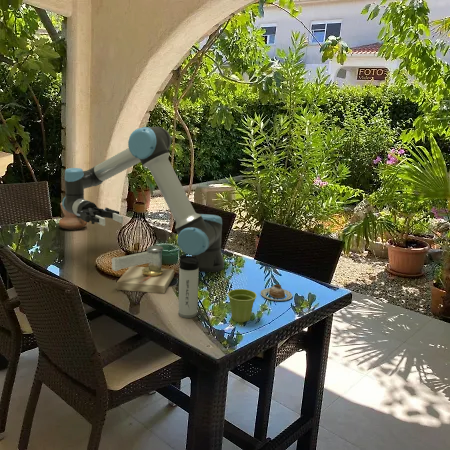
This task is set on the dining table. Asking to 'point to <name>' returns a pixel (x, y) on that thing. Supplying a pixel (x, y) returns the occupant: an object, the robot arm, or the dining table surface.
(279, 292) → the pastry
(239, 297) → the plant pot
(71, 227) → the ceramic jug
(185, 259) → the travel mug
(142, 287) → the stand
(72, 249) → the dining table surface
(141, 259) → the grey lever handle
